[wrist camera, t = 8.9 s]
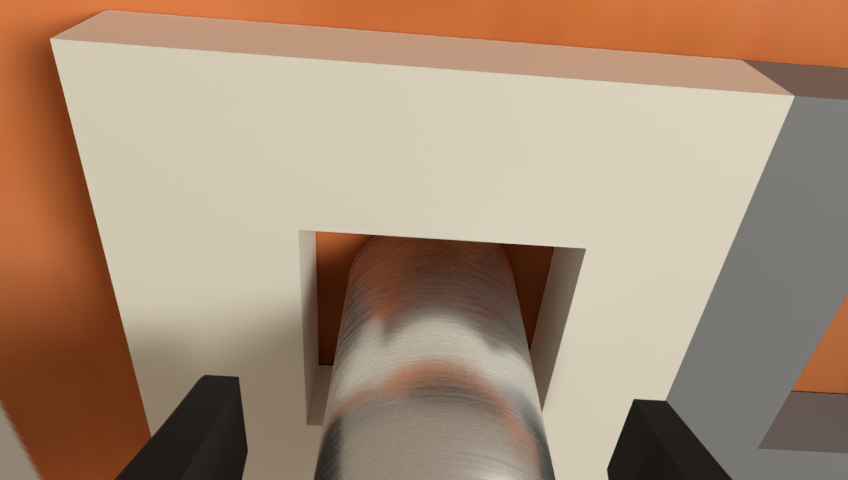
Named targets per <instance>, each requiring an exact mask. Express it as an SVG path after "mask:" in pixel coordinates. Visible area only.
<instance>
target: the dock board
mask: <svg viewBox="0 0 848 480" xmlns="http://www.w3.org/2000/svg"><path fill="white" fill-rule="evenodd" d="M50 41H51V45H52V49H53V53H54V57H55V61H56V65H57V69H58V73H59V77H60V81H61V85H62V88H63V92H64V96H65V100H66V104H67V108H68V112H69V116H70V120H71V124H72V128H73V132H74V135H75V139H76V143H77V147H78V151H79V155H80V159H81V163H82V167H83V171H84V175H85V179H86V183H87V186H88V190H89V194H90V198H91V202H92V206H93V210H94V214H95V218H96V222H97V226H98V230H99V233H100V237H101V241H102V245H103V249H104V253H105V257H106V261H107V265H108V269H109V273H110V277H111V280H112V284H113V288H114V292H115V296H116V300H117V304H118V308H119V312H120V316H121V320H122V324H123V327H124V331H125V335H126V339H127V343H128V347H129V351H130V355H131V359H132V363H133V367H134V371H135V374H136V378H137V382H138V386H139V390H140V394H141V398H142V402H143V406H144V410H145V414H146V418H147V421H148V425H149V429H150V433H151V437H152V436H153V435H154V434H155V433H156V432H157V431H158V429H159V428H160V427H161V426H162V425H163V423H164V422H165V421H166V420H167V419H168V417H169V416H170V415H171V414H172V412H173V411H174V410H175V409H176V407H177V406H178V405H179V404H180V402H181V401H182V400H183V399H184V397H185V396H186V395H187V394H188V392H189V391H190V390H191V389H192V387H193V386H194V385H195V383H196V382H197V381H198V380H199V379H200V378H201V377H202V376H204V375H217V376H235V377H239V383H240V391H241V399H242V407H243V415H244V423H245V431H246V438H247V446H248V454H247V458H246V463H245V468H244V472H243V477H242V480H313V479H314V473H315V467H316V462H317V456H318V450H319V445H320V439H321V433H322V428H323V422H324V416H325V410H326V405H327V399H328V393H329V388H330V382H331V376H332V371H333V366H331V365H319V347H318V306H317V265H316V231H324V232H339V233H355V234H370V235H385V236H401V237H416V238H431V239H447V240H462V241H477V242H492V243H508V244H523V245H538V246H554V251H553V255H552V259H551V264H550V268H549V272H548V276H547V281H546V285H545V289H544V293H543V298H542V302H541V306H540V311H539V315H538V319H537V323H536V328H535V332H534V336H533V340H532V345H531V349H530V353H529V354H530V358H531V363H532V368H533V373H534V378H535V383H536V387H537V392H538V397H539V402H540V407H541V412H542V417H543V421H544V426H545V431H546V436H547V441H548V446H549V450H550V455H551V460H552V465H553V470H554V475H555V479H556V480H608V474H607V467H608V465H609V462H610V460H611V457H612V454H613V452H614V449H615V447H616V444H617V441H618V439H619V436H620V433H621V431H622V428H623V426H624V423H625V420H626V418H627V415H628V413H629V410H630V407H631V405H632V402H633V400H634V399H644V400H662V401H667V402H668V403H669V404H670V406H671V407H672V408H673V409H674V410H675V412H676V413H677V414H678V415H679V416H680V418H681V419H682V420H683V421H684V422H685V424H686V425H687V426H688V427H689V428H690V430H691V431H692V432H693V433H694V434H695V436H696V437H697V438H698V439H699V440H700V442H701V443H702V444H703V445H704V447H705V448H706V449H707V450H708V451H709V452H710V454H711V455H712V456H713V457H714V458H715V460H716V461H717V462H718V463H719V464H720V466H721V467H722V468H723V469H724V470H725V472H726V473H727V474H728V475H729V476H730V477H731V479H732V480H848V395H847V394H829V393H811V392H794V391H791V390H792V388H793V387H794V385H795V383H796V382H797V380H798V378H799V376H800V375H801V373H802V371H803V369H804V368H805V366H806V364H807V363H808V361H809V359H810V357H811V356H812V354H813V352H814V351H815V349H816V347H817V345H818V344H819V342H820V340H821V339H822V337H823V335H824V333H825V332H826V330H827V328H828V326H829V325H830V323H831V321H832V320H833V318H834V316H835V314H836V313H837V311H838V309H839V308H840V306H841V304H842V302H843V301H844V299H845V297H846V296H847V294H848V68H836V67H823V66H811V65H798V64H785V63H773V62H760V61H748V60H735V59H722V58H710V57H697V56H684V55H672V54H659V53H646V52H634V51H621V50H609V49H596V48H583V47H571V46H558V45H545V44H533V43H520V42H508V41H495V40H482V39H470V38H457V37H444V36H432V35H419V34H407V33H394V32H381V31H369V30H356V29H343V28H331V27H318V26H306V25H293V24H280V23H268V22H255V21H242V20H230V19H217V18H204V17H192V16H179V15H167V14H154V13H141V12H129V11H116V10H105V11H103V12H101V13H99V14H97V15H95V16H93V17H91V18H89V19H87V20H85V21H83V22H81V23H79V24H77V25H75V26H73V27H72V28H70V29H68V30H66V31H64V32H62V33H60V34H58V35H56V36H54V37H52V38H50Z"/></svg>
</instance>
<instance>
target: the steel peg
mask: <svg viewBox="0 0 848 480" xmlns="http://www.w3.org/2000/svg"><path fill="white" fill-rule="evenodd" d="M313 480H556V479H555V475H554V470H553V465H552V460H551V455H550V450H549V446H548V441H547V436H546V431H545V426H544V421H543V417H542V412H541V407H540V402H539V397H538V392H537V387H536V383H535V378H534V373H533V368H532V363H531V358H530V354H529V349H528V344H527V339H526V334H525V329H524V325H523V320H522V315H521V310H520V305H519V300H518V296H517V291H516V286H515V281H514V276H513V272H512V267H511V264H510V262H509V259H508V257H507V256H506V254H505V252H504V251H503V249H502V248H501V247H500V246H499V245H498V243H492V242H477V241H462V240H447V239H431V238H416V237H401V236H385V235H374V236H373V237H372V238H371V239H370V240H368V241H367V242H366V243H365V245H364V246H363V247H362V248H361V249H360V251H359V252H358V254H357V255H356V257H355V259H354V261H353V264H352V266H351V270H350V274H349V279H348V285H347V291H346V296H345V302H344V308H343V313H342V319H341V325H340V331H339V336H338V342H337V348H336V353H335V359H334V365H333V371H332V376H331V382H330V388H329V393H328V399H327V405H326V410H325V416H324V422H323V428H322V433H321V439H320V445H319V450H318V456H317V462H316V467H315V473H314V479H313Z"/></svg>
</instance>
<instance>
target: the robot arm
mask: <svg viewBox="0 0 848 480" xmlns="http://www.w3.org/2000/svg"><path fill="white" fill-rule="evenodd" d="M247 454H248V446H247V438H246V431H245V423H244V415H243V407H242V399H241V391H240V383H239V377H235V376H217V375H204V376H202V377H201V378H200V379H199V380H198V381H197V382H196V383H195V385H194V386H193V387H192V389H191V390H190V391H189V392H188V394H187V395H186V396H185V397H184V399H183V400H182V401H181V402H180V404H179V405H178V406H177V407H176V409H175V410H174V411H173V412H172V414H171V415H170V416H169V417H168V419H167V420H166V421H165V422H164V423H163V425H162V426H161V427H160V428H159V429H158V431H157V432H156V433H155V434H154V435H153V436H152V438H151V439H150V440H149V441H148V442H147V443H146V445H145V446H144V447H143V448H142V449H141V450H140V451H139V453H138V454H137V455H136V456H135V457H134V458H133V459H132V460H131V462H130V463H129V464H128V465H127V466H126V467H125V468H124V469H123V471H122V472H121V473H120V474H119V475H118V476H117V477H116V478H115V480H242V477H243V472H244V468H245V463H246V458H247ZM607 474H608V480H732V479H731V477H730V476H729V475H728V474H727V473H726V472H725V470H724V469H723V468H722V467H721V466H720V464H719V463H718V462H717V461H716V460H715V458H714V457H713V456H712V455H711V454H710V452H709V451H708V450H707V449H706V448H705V447H704V445H703V444H702V443H701V442H700V440H699V439H698V438H697V437H696V436H695V434H694V433H693V432H692V431H691V430H690V428H689V427H688V426H687V425H686V424H685V422H684V421H683V420H682V419H681V418H680V416H679V415H678V414H677V413H676V412H675V410H674V409H673V408H672V407H671V406H670V404H669V403H668V402H667V401H662V400H644V399H634V400H633V402H632V405H631V407H630V410H629V413H628V415H627V418H626V420H625V423H624V426H623V428H622V431H621V433H620V436H619V439H618V441H617V444H616V447H615V449H614V452H613V454H612V457H611V460H610V462H609V465H608V467H607Z"/></svg>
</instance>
